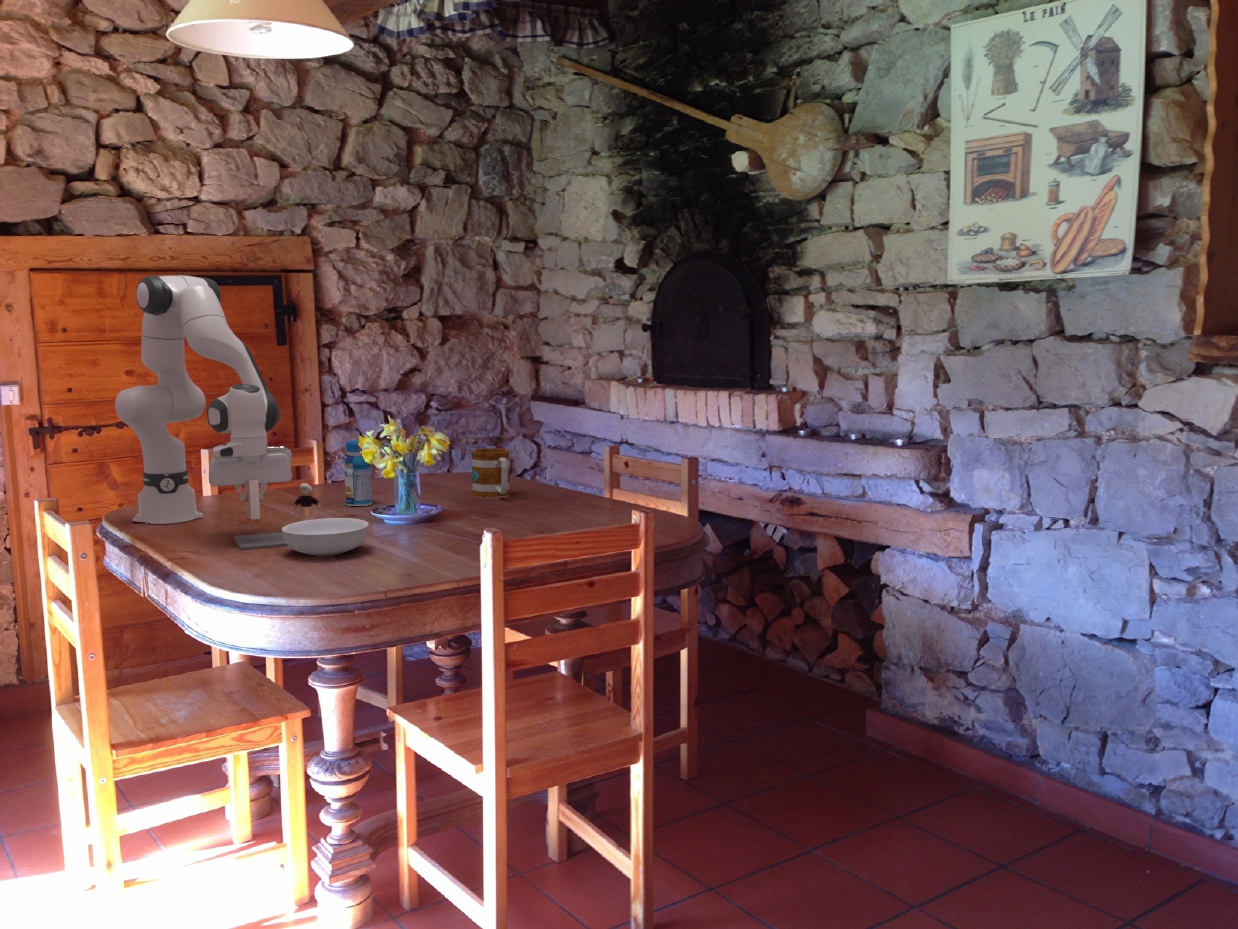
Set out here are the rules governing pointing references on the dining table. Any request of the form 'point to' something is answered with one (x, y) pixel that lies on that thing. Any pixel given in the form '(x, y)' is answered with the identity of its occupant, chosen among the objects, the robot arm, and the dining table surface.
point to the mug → (490, 472)
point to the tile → (252, 499)
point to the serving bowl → (325, 535)
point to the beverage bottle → (357, 477)
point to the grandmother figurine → (306, 503)
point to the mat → (260, 540)
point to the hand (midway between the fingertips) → (252, 500)
